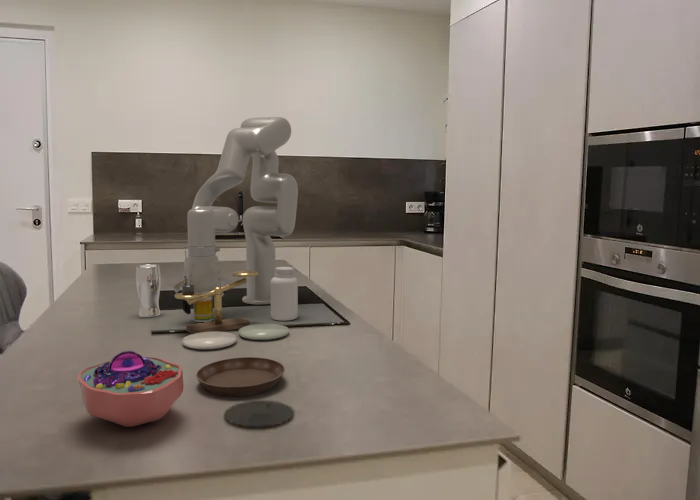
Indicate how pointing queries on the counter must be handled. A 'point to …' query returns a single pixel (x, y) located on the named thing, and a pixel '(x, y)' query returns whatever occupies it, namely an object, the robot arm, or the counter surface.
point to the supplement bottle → (203, 309)
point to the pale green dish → (263, 331)
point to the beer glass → (148, 289)
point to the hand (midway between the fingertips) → (203, 311)
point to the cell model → (131, 388)
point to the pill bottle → (284, 295)
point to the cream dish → (209, 340)
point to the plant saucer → (240, 376)
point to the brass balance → (215, 305)
